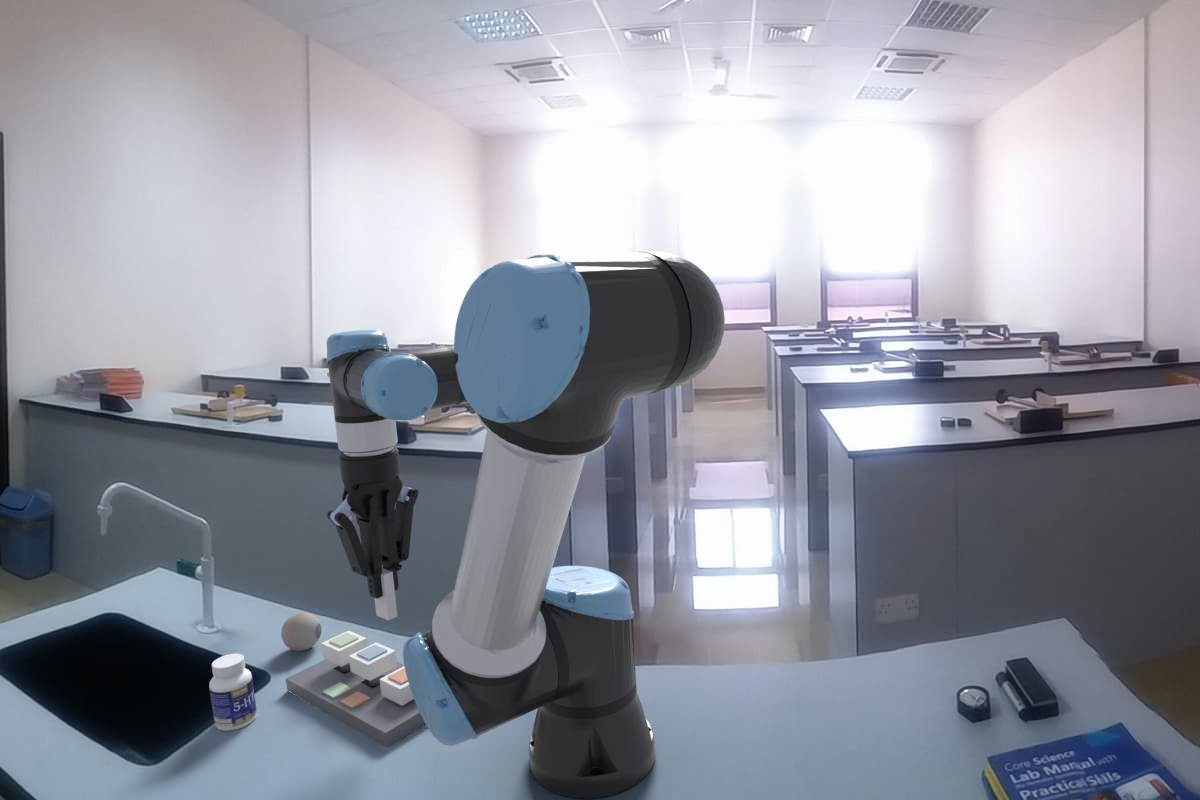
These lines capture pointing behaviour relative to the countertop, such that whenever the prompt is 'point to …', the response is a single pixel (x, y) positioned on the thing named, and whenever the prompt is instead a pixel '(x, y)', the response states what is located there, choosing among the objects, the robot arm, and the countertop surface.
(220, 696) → the pill bottle
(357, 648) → the key sage
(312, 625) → the eyeball
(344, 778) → the countertop surface
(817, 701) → the countertop surface
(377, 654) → the white boxy piece
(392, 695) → the key terracotta
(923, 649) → the countertop surface
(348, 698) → the keypad board
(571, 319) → the robot arm
